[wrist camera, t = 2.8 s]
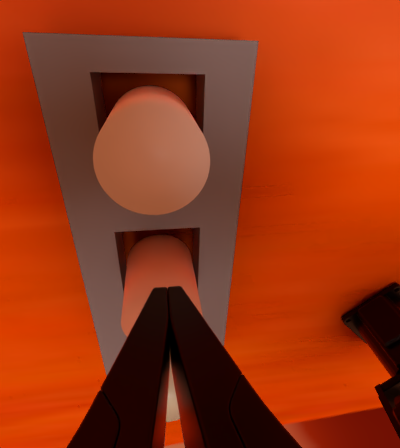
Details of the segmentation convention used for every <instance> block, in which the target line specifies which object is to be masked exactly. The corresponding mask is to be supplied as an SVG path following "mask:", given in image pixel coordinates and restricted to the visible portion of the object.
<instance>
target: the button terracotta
mask: <svg viewBox="0 0 400 448" xmlns="http://www.w3.org/2000/svg"><path fill="white" fill-rule="evenodd" d="M170 286H181V287H182V288H183V289H184V291H185V292H186V294H187V295H188V296H189V298H190V299H191V301H192V302H193V304H194V305H195V306H196V308H197V309H198V311H199V312H200V314H201V315H202V316H203V314H202V309H201V304H200V299H199V294H198V289H197V284H196V279H195V273H194V268H193V263H192V258H191V253H190V251H189V249H188V247H187V246H186V244H185V243H183V242H182V241H181V240H179V239H178V238H175V237H173V236H169V235H152V236H148V237H146V238H143V239H141V240H140V241H138V242H137V243H136V244H135V245H134V246H133V247H132V248H131V250H130V252H129V254H128V258H127V268H126V278H125V287H124V297H123V307H122V316H121V327H122V330H123V332H124V334H125V335H126V336H127V337H128V335H129V333H130V331H131V329H132V327H133V325H134V323H135V322H136V320H137V318H138V316H139V314H140V312H141V310H142V308H143V306H144V304H145V302H146V301H147V299H148V297H149V295H150V293H151V291H152V289H153V288H155V287H166V288H167V289H168V287H170Z"/></svg>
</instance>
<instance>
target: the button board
mask: <svg viewBox="0 0 400 448" xmlns="http://www.w3.org/2000/svg"><path fill="white" fill-rule="evenodd" d="M23 36H24V40H25V44H26V49H27V53H28V57H29V61H30V65H31V69H32V73H33V77H34V81H35V85H36V89H37V93H38V97H39V102H40V106H41V110H42V114H43V118H44V122H45V126H46V130H47V134H48V138H49V142H50V146H51V150H52V154H53V159H54V163H55V167H56V171H57V175H58V179H59V183H60V187H61V191H62V195H63V199H64V203H65V207H66V212H67V216H68V220H69V224H70V228H71V232H72V236H73V240H74V244H75V248H76V252H77V256H78V260H79V265H80V269H81V273H82V277H83V281H84V285H85V289H86V293H87V297H88V301H89V305H90V309H91V313H92V317H93V322H94V326H95V330H96V334H97V338H98V342H99V346H100V350H101V354H102V358H103V362H104V366H105V370H106V375H108V373H109V371H110V369H111V367H112V365H113V363H114V362H115V360H116V358H117V356H118V354H119V352H120V350H121V348H122V346H123V344H124V342H125V341H126V339H127V336H126V335H125V334H124V332H123V330H122V327H121V316H122V307H123V297H124V287H125V278H126V268H127V266H126V258H125V251H124V243H123V236H122V232H125V231H143V230H161V229H179V228H193V262H192V263H193V268H194V273H195V279H196V284H197V289H198V294H199V299H200V304H201V309H202V314H203V318H204V319H205V321H206V322H207V324H208V325H209V326H210V328H211V329H212V331H213V332H214V334H215V335H216V336H217V338H218V339H219V341H220V342H221V344H222V345H223V346H224V339H225V330H226V321H227V312H228V303H229V295H230V286H231V277H232V268H233V259H234V251H235V242H236V233H237V224H238V216H239V207H240V198H241V189H242V180H243V172H244V163H245V154H246V145H247V136H248V128H249V119H250V110H251V101H252V93H253V84H254V75H255V66H256V57H257V49H258V41H247V40H220V39H193V38H166V37H139V36H112V35H85V34H58V33H31V32H23ZM100 72H109V73H159V74H196V123H197V125H198V127H199V128H200V130H201V132H202V133H203V135H204V137H205V139H206V141H207V144H208V148H209V153H210V170H209V174H208V178H207V180H206V183H205V185H204V187H203V188H202V190H201V191H200V193H199V194H198V195H197V196H196V197H195V199H194V200H192V201H191V202H190V203H189V204H187V205H186V206H184V207H183V208H181V209H179V210H177V211H174V212H171V213H167V214H161V215H146V214H140V213H136V212H133V211H130V210H128V209H126V208H124V207H122V206H121V205H119V204H117V203H116V202H115V201H114V200H112V199H111V198H110V197H109V196H108V195H107V194H106V192H105V191H104V190H103V188H102V187H101V185H100V183H99V181H98V179H97V176H96V174H95V170H94V165H93V150H94V145H95V141H96V139H97V136H98V134H99V132H100V130H101V128H102V127H103V125H104V123H105V121H106V120H107V118H106V111H105V103H104V96H103V89H102V81H101V74H100Z"/></svg>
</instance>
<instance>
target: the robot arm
mask: <svg viewBox="0 0 400 448" xmlns="http://www.w3.org/2000/svg"><path fill="white" fill-rule="evenodd" d="M342 321H343V323H344V324H345V325H346V326H347V327H349V328H350V329H351V330H352V331H353V332H354V333H355V334H356V335H357V336H359V337H360V338H361V339H362V340H363V341H364V342H365V343H366V344H368V345H369V347H370V348H371V349H372V351H373V352H374V354H375V355H376V356H377V358H378V359H379V360H380V362H381V363H382V365H383V366H384V367H385V369H386V370H387V371H388V373H389V374H390V376H391V377H392V378H390V379H389V380H387V381H386V382H384V383H382V384H378V385H377V386H375V389H376V391H377V393H378V395H379V396H378V397H379V399H380V401H381V403H382V405H383V407H384V409H385V411H386V413H387V415H388V417H389V419H390V421H391V423H392V424H393V427H394V429H395V431H396V432H397V434H398V436H399V438H400V285H399V284H398V283H395V284H392V285H391V286H389V287H388V288H386V289H385V290H383V291H382V292H380V293H378V294H377V295H375V296H374V297H372V298H371V299H369V300H368V301H366V302H365V303H363V304H361V305H360V306H358V307H357V308H355V309H354V310H352V311H351V312H349V313H347V314H346V315H344V316H343V317H342ZM170 360H171V368H172V374H173V380H174V386H175V392H176V398H177V404H178V409H179V415H180V421H181V427H182V433H183V439H184V445H185V448H302V447H301V446H300V445H299V444H298V443H297V441H296V440H295V439H294V438H293V437H292V436H291V435H290V433H289V432H288V431H287V430H286V429H285V428H284V427H283V425H282V424H281V423H280V422H279V421H278V419H277V418H276V417H275V416H274V415H273V413H272V412H271V411H270V410H269V409H268V407H267V406H266V405H265V404H264V402H263V401H262V400H261V398H260V397H259V396H258V394H257V393H256V392H255V390H254V389H253V388H252V386H251V385H250V383H249V382H248V380H247V379H246V378H245V376H244V375H241V374H242V372H241V371H240V369H239V368H238V366H237V365H236V364H235V362H234V361H233V359H232V358H231V356H230V355H229V354H228V352H227V351H226V349H225V348H224V346H223V345H222V344H221V342H220V341H219V339H218V338H217V336H216V335H215V334H214V332H213V331H212V329H211V328H210V326H209V325H208V324H207V322H206V321H205V319H204V318H203V316H202V315H201V314H200V312H199V311H198V309H197V308H196V306H195V305H194V304H193V302H192V301H191V299H190V298H189V296H188V295H187V294H186V292H185V291H184V289H183V288H182V287H181V286H170V287H168V289H167V288H166V287H155V288H153V289H152V291H151V293H150V295H149V297H148V299H147V301H146V302H145V304H144V306H143V308H142V310H141V312H140V314H139V316H138V318H137V320H136V322H135V323H134V325H133V327H132V329H131V331H130V333H129V335H128V337H127V339H126V341H125V342H124V344H123V346H122V348H121V350H120V352H119V354H118V356H117V358H116V360H115V362H114V363H113V365H112V367H111V369H110V371H109V373H108V375H107V377H106V379H105V381H104V382H103V384H102V386H101V390H100V391H99V392H98V394H97V396H96V397H95V399H94V401H93V403H92V405H91V407H90V409H89V410H88V412H87V414H86V416H85V418H84V419H83V421H82V423H81V425H80V427H79V428H78V430H77V432H76V433H75V435H74V436H73V438H72V440H71V441H70V443H69V444H68V446H67V448H164V442H165V428H166V414H167V400H168V386H169V372H170Z"/></svg>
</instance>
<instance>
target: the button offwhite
mask: <svg viewBox="0 0 400 448" xmlns="http://www.w3.org/2000/svg"><path fill="white" fill-rule="evenodd" d="M93 165H94V170H95V174H96V176H97V179H98V181H99V183H100V185H101V187H102V188H103V190H104V191H105V192H106V194H107V195H108V196H109V197H110V198H111V199H112V200H114V201H115V202H116V203H117V204H119V205H121V206H122V207H124V208H126V209H128V210H130V211H133V212H136V213H140V214H146V215H161V214H167V213H171V212H174V211H177V210H179V209H181V208H183V207H184V206H186V205H187V204H189V203H190V202H191V201H192V200H194V199H195V197H196V196H197V195H198V194H199V193H200V191H201V190H202V188H203V187H204V185H205V183H206V180H207V178H208V174H209V170H210V153H209V148H208V144H207V141H206V139H205V137H204V135H203V133H202V132H201V130H200V128H199V127H198V125H197V123H196V121H195V120H194V118H193V116H192V115H191V113H190V111H189V110H188V108H187V106H186V105H185V103H184V102H183V101H182V100H181V99H180V98H179V97H178V96H177V95H176V94H174V93H173V92H171V91H170V90H168V89H165V88H163V87H159V86H153V85H145V86H139V87H136V88H133V89H131V90H129V91H128V92H126V93H125V94H124V95H123V96H122V97H121V98H120V99H119V100H118V101H117V103H116V104H115V106H114V107H113V109H112V111H111V113H110V114H109V116H108V118H107V120H106V121H105V123H104V125H103V127H102V128H101V130H100V132H99V134H98V136H97V139H96V141H95V145H94V150H93Z"/></svg>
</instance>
